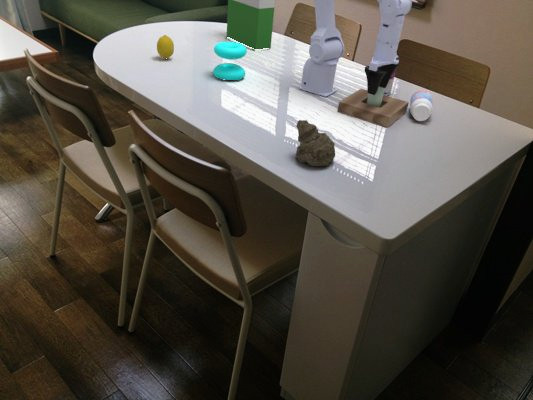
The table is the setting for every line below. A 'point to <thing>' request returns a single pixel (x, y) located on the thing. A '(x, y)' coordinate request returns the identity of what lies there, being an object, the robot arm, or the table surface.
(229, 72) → the donuts
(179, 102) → the table surface
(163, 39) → the lemon
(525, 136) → the table surface
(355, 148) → the table surface
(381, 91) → the peg
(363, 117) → the socket block
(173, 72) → the table surface
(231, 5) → the green and white box
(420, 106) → the pill bottle
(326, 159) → the brown lumpy stone
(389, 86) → the energy drink
